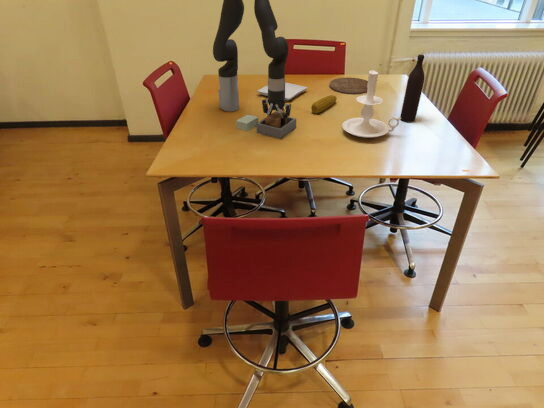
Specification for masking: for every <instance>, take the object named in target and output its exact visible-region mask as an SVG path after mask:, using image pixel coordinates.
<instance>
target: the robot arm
mask: <svg viewBox="0 0 544 408" xmlns="http://www.w3.org/2000/svg"><path fill="white" fill-rule="evenodd" d="M253 2H254V3H253V5H254V6H253V7H254V8H253V9H254V16H255V19H256V21H257V23H258V26H259V29H260V33H261V40H262V41H261V42H262V47H263V50H264V53H265V55H267V56H268V57H269V58H271V59H272V60H271V62H270V63H269V64H268V67H267V71H268V72H267V73H268V74H267V79H268V80H267V85H268V96H267V97H266V98H264V99H262V100H261V105H262V111H263V114H265V115H267V116H269V115H270V114H272V113H273V112H274V111H278V112H279V114H280V116H281V126H283V125H284V124H285V120H286V118H287V117H291V109H292V104H291V103H286V100H285V83H286V76H285V75H286V64H287V60H288V55H289V43H288V41H287V39H286V38H285V37H284V36H276V31H277V29H278V28H279V27H278V22H277V20H276V19H277V18H276V16H275V14H274V12H273V8H272V5H271V3H270V0H254V1H253ZM244 12H245V4H244V1H243V0H223V2H222V6H221V12H220V17H219V21H218V22H219V24H218V28H217V32H216V35H215V38H214V41H213V46H212V54H213V55H212V56H213V58H214V60H215V61H216V62H220V63H221V62H225V64H223V66H221V67H219V68H218V69H217V70H218V81H219V89H218V91H217V92H218V100H219V101H218V102H219V109H221V110H222V111H224V112H235V111H238V110H240V96H239V95H240V94H239V81H238V78H239V77H238V70H239V60H238V59H239V55H238V53H239V52H238V51H239V50H238V45H237V43H236V41H235V40H234V39H233V38H231V39H229V38H230V37H231V36H232V35H233V34H234V33H235V32H236V31H237V29H238V28H239V27H240V26H241V24H242V21H243V17H244V14H245V13H244ZM267 116H266V117H267Z"/></svg>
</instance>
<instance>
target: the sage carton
mask: <svg viewBox="0 0 544 408" xmlns="http://www.w3.org/2000/svg"><path fill="white" fill-rule="evenodd" d="M258 122H259V116H255V115H252V114H246V115H244V116H243V117H240V118H238V119H237V120H236V123H235V124H236V129H238V130H241V131H245V132H248V131H251V130H252V129H253V128H255V127H256V124H257V123H258Z"/></svg>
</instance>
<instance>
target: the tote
mask: <svg viewBox="0 0 544 408" xmlns="http://www.w3.org/2000/svg"><path fill="white" fill-rule="evenodd" d="M255 127H256V134H260V135H263V136H267V137H271V138H275V139H278V140H282V139H284V138H285V137H287V135H289V134H290V133H291V132H293V131H294V130H295V129H296V128H297V118H296V117H292V116H289V117H287V124H286V125H284V126H283V127H282V128H276V127H272V126H268V125H265V117H264V118H262V119H261V120H260V121H258V123H257V124H256V126H255Z"/></svg>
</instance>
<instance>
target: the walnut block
mask: <svg viewBox="0 0 544 408" xmlns="http://www.w3.org/2000/svg"><path fill="white" fill-rule="evenodd" d="M264 118H265V125H268V126H272V127H276V128H282V127H283V126H284V125H286V124H287V118H286V120H285V124H284V125H283V126H281V116H280V114H279V112H278V111H276V110H274V111H272V113H271V114H270V115H269V116H266V117H264Z"/></svg>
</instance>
